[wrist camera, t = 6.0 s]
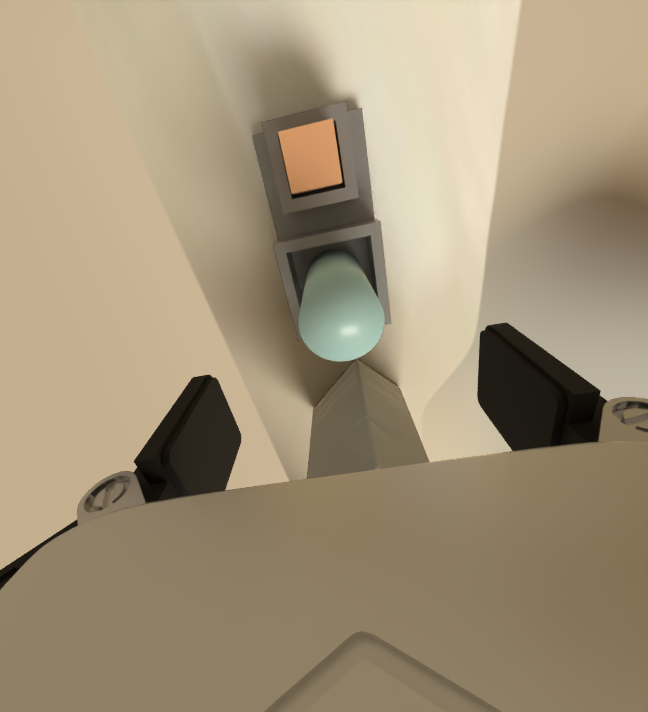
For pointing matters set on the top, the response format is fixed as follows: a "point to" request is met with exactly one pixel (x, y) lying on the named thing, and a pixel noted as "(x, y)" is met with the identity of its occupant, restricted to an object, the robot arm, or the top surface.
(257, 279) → the top surface
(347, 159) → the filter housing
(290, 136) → the plunger
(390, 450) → the skincare box
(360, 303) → the cartridge
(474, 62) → the top surface
